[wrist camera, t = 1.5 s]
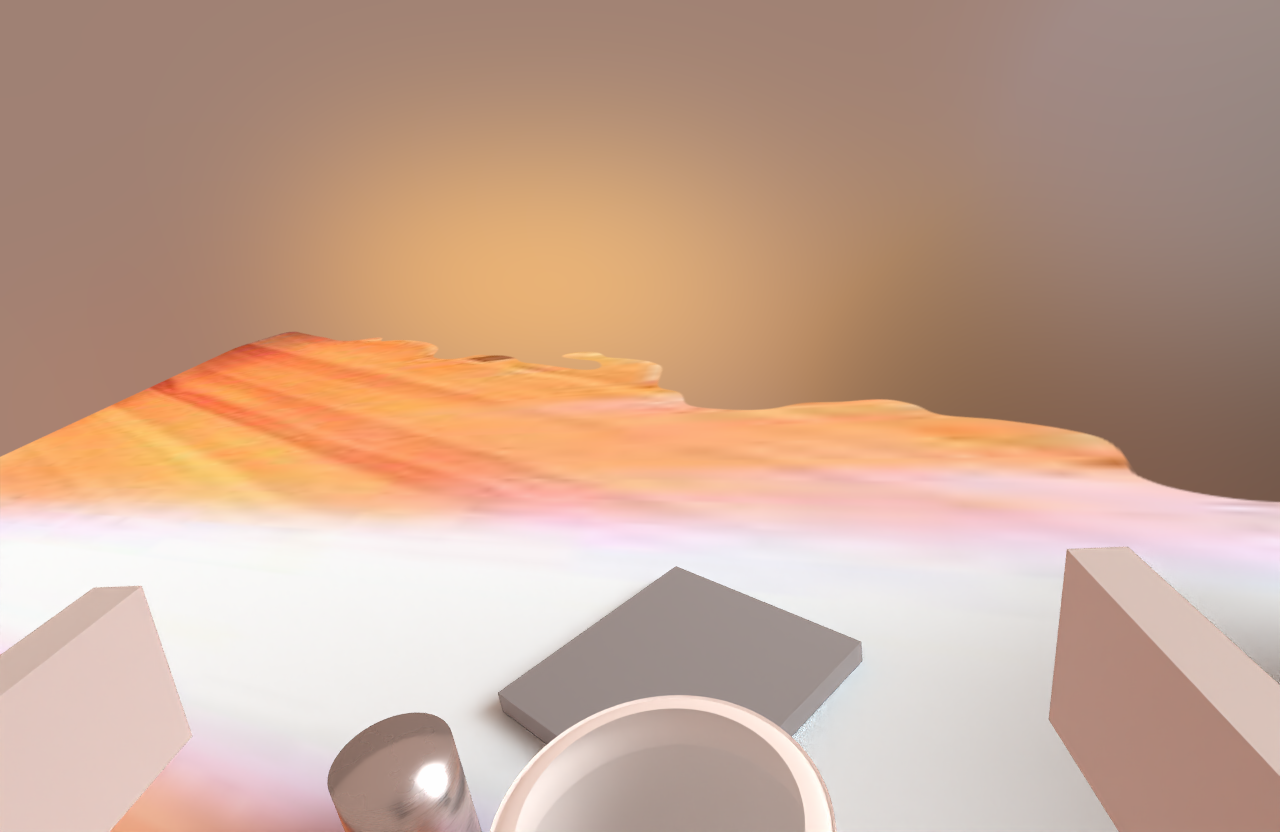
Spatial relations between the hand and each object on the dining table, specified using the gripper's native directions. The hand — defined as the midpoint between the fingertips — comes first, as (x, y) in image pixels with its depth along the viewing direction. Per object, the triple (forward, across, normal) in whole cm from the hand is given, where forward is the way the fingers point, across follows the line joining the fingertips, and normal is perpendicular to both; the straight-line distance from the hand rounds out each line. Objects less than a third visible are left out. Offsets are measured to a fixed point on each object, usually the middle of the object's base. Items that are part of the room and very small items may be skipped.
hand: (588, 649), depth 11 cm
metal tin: (+20, -14, -27) cm, 36 cm away
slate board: (+31, -1, -26) cm, 41 cm away
